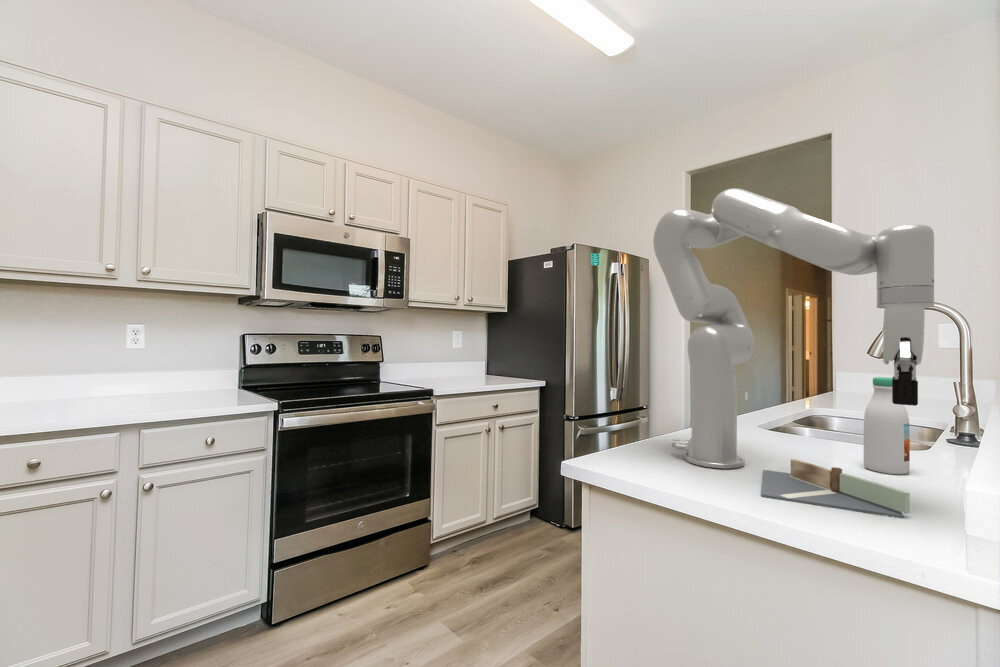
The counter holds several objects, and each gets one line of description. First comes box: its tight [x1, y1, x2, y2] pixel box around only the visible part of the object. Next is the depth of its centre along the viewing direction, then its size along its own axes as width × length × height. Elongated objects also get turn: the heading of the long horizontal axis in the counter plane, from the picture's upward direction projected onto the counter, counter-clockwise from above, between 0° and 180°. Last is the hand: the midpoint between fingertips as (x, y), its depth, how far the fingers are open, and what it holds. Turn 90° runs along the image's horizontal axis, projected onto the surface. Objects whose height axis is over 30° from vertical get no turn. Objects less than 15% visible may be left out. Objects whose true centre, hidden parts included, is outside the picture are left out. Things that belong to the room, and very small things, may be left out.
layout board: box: [760, 469, 905, 519], centre depth 88 cm, size 20×18×1 cm
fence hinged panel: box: [840, 472, 911, 514], centre depth 81 cm, size 11×1×3 cm, turn 15°
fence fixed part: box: [790, 458, 843, 493], centre depth 92 cm, size 10×2×5 cm, turn 15°
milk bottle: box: [863, 376, 911, 475], centre depth 103 cm, size 8×8×20 cm
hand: (904, 401), depth 81 cm, fingers open, 7 cm apart
